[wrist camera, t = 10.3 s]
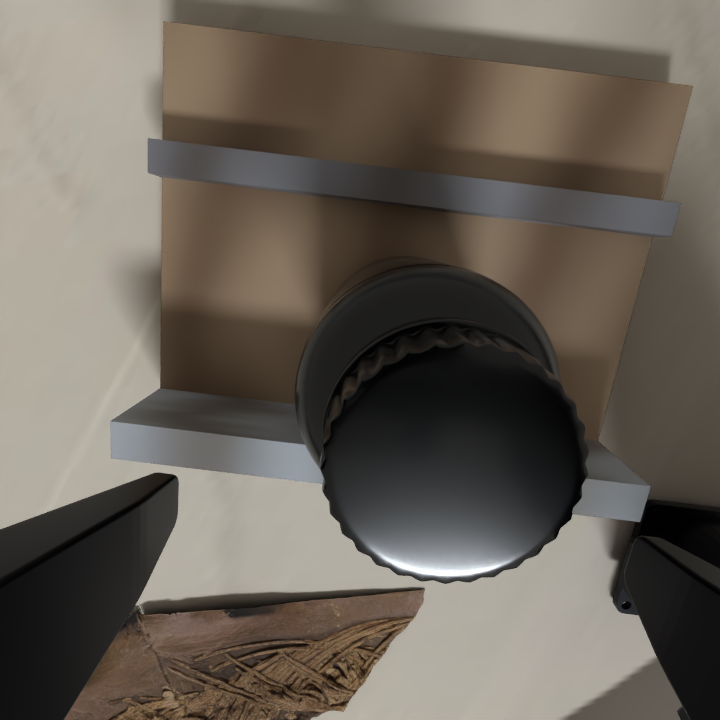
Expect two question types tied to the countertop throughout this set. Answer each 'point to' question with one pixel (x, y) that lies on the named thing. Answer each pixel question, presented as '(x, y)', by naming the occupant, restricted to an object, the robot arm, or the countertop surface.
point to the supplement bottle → (439, 421)
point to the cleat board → (386, 224)
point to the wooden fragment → (245, 660)
